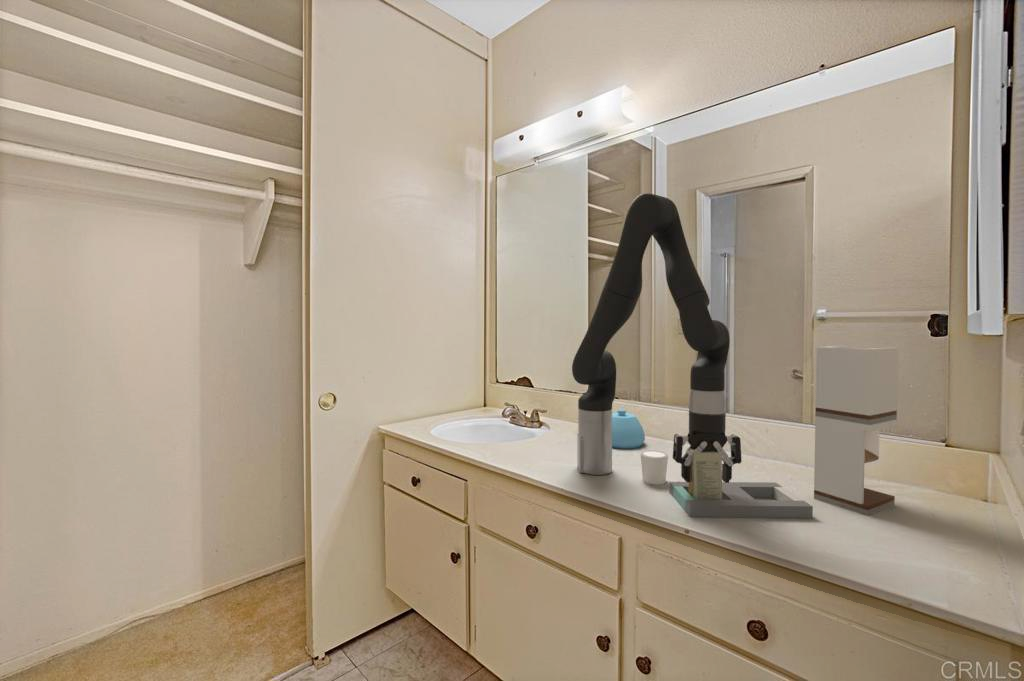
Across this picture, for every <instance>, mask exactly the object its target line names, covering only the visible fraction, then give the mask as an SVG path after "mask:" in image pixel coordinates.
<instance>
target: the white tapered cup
mask: <svg viewBox="0 0 1024 681" xmlns="http://www.w3.org/2000/svg"><path fill="white" fill-rule="evenodd" d="M640 461H641V474H642V481H643V482H644V483H647V484H650V485H663V484H664V485H665V483H666V480H667V472H668V471H667V470H668V461H669V455H668V453H666V452H663V451H661V450H659V451H658V450H643V451H641V452H640Z"/></svg>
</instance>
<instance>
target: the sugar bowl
mask: <svg viewBox="0 0 1024 681" xmlns="http://www.w3.org/2000/svg"><path fill="white" fill-rule="evenodd" d="M616 411H617V412H612V448H615V449H623V450H625V449H636V448H639V447H641V445H643V444H644V442H645V440H646V437H645V436H646V435H645V431H644V428H643V425H642V424H641V422H640V421H639V419H638V418H637V415H635V414H633V413H629V412H627V409H622V408H620V409H617V410H616Z"/></svg>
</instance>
